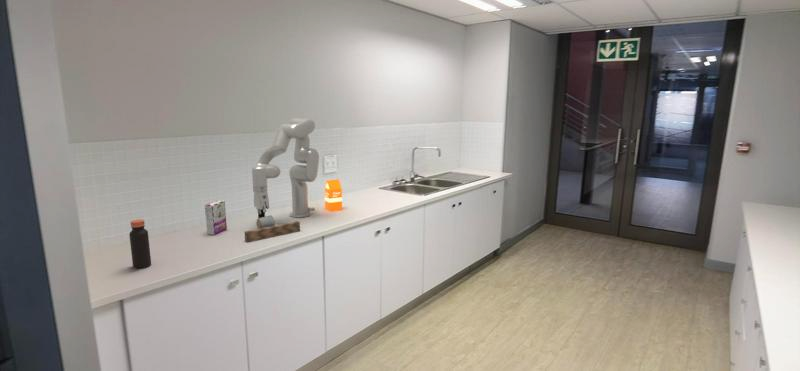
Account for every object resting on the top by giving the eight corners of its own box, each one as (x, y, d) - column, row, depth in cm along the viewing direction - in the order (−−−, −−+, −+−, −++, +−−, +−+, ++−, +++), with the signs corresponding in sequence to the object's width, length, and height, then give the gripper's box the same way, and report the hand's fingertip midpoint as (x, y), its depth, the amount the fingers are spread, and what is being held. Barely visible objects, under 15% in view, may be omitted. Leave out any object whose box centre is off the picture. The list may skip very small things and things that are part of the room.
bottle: (142, 262, 189) (138, 218, 186) (155, 264, 188) (150, 219, 184) (129, 267, 183) (123, 222, 179) (141, 269, 181) (136, 223, 177)
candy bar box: (219, 228, 240) (217, 200, 237) (227, 229, 239) (225, 200, 236) (206, 234, 229) (204, 204, 226) (214, 235, 228) (212, 205, 225)
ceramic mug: (256, 229, 239) (255, 216, 238) (270, 227, 244) (269, 213, 243) (263, 234, 231) (262, 220, 230) (277, 231, 236) (277, 218, 234)
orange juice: (342, 209, 285) (341, 180, 281) (330, 211, 280) (329, 181, 276) (336, 207, 291) (336, 178, 287) (324, 209, 286) (324, 179, 282)
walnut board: (297, 229, 240) (297, 221, 239) (300, 230, 238) (299, 222, 237) (245, 241, 220) (244, 231, 219) (247, 242, 218) (246, 232, 217)
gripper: (272, 189, 236) (274, 222, 239) (260, 185, 246) (262, 216, 250) (259, 191, 231) (261, 224, 234) (248, 187, 241) (249, 219, 245)
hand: (261, 220), depth 242 cm, fingers closed
